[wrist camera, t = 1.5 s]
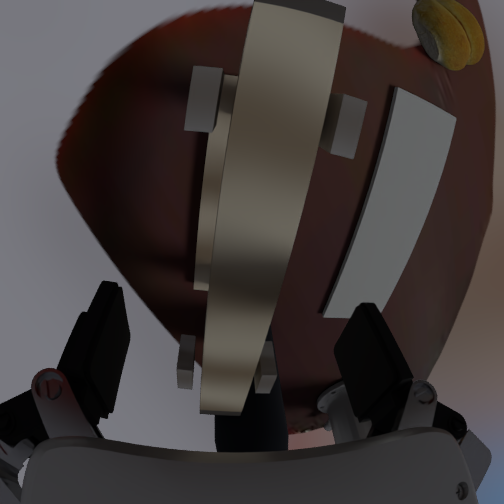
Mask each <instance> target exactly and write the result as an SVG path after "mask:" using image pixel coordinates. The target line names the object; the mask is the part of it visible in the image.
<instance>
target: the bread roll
mask: <svg viewBox="0 0 504 504" xmlns="http://www.w3.org/2000/svg"><path fill="white" fill-rule="evenodd" d="M412 22H413V26H414V28H415V31H416V32H417V35H418V38H419V40H420V42H421V44H422V46H423V47H424V49H425V51H426V52H427V54H428V55H429V56H430V58H432V59H433V60H435V61H436V62H438V63H439V64H441V65H442V66H444V67H446V68H448V69H450V70H461V69H462V68H464V67H465V65H466V64H469V65H470V64H471V65H472V64H475V63H477V62H478V61H479V60H480V58H481V57H482V55H483V52H484V37H483V33H482V30H481V28H480V26H479V24H478V22H477V20H476V19H475V17H474V16H473V15H472V14H471V13H470V12H469V11H468V10H467V9H466V8H465V7H464V6H462V5H461V4H459V3H458V2H456V1H454V0H419V1H418V2H417V3H416V4H415V5H414V8H413V10H412Z"/></svg>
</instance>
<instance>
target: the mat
mask: <svg viewBox="0 0 504 504" xmlns="http://www.w3.org/2000/svg"><path fill="white" fill-rule="evenodd" d="M455 123H456V118H455V117H454V116H452V115H450V114H449V113H447V112H445V111H443V110H442V109H440V108H438V107H436V106H435V105H433V104H431V103H429V102H427V101H425V100H423V99H421V98H419V97H417V96H415V95H413V94H411V93H409V92H407V91H405V90H403V89H401V88H399V87H395V89H394V94H393V98H392V103H391V108H390V112H389V116H388V121H387V125H386V129H385V133H384V137H383V141H382V144H381V148H380V152H379V155H378V159H377V163H376V166H375V170H374V173H373V176H372V180H371V183H370V186H369V190H368V193H367V196H366V199H365V202H364V205H363V208H362V211H361V214H360V217H359V220H358V223H357V226H356V229H355V232H354V235H353V237H352V240H351V243H350V246H349V248H348V251H347V254H346V256H345V259H344V262H343V264H342V267H341V269H340V272H339V274H338V277H337V279H336V282H335V284H334V287H333V289H332V292H331V294H330V296H329V299H328V301H327V304H326V306H325V308H324V311H323V313H322V315H323V317H328V318H350V317H351V315H352V314H353V312H354V310H355V308H356V306H359V304H360V303H362V302H370V303H375V304H376V306H377V308H378V309H379V311H380V313H381V312H382V310H383V308H384V306H385V305H386V303H387V301H388V299H389V297H390V295H391V293H392V292H393V290H394V288H395V286H396V284H397V282H398V280H399V278H400V276H401V274H402V272H403V270H404V267H405V265H406V263H407V261H408V259H409V257H410V255H411V252H412V250H413V248H414V246H415V243H416V241H417V239H418V236H419V234H420V232H421V229H422V227H423V224H424V222H425V219H426V217H427V214H428V211H429V209H430V206H431V203H432V201H433V198H434V195H435V192H436V189H437V186H438V183H439V180H440V177H441V174H442V171H443V168H444V164H445V161H446V158H447V154H448V150H449V147H450V143H451V139H452V135H453V131H454V127H455Z"/></svg>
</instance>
